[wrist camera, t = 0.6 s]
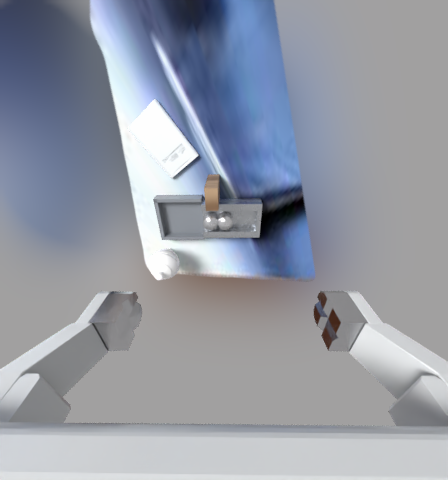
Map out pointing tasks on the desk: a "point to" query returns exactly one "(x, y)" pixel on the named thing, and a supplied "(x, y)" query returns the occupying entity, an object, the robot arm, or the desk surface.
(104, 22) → the desk surface
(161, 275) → the white vase
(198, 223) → the tray
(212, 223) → the shiny gray ball
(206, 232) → the slot block
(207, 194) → the tan long rectangular block
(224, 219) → the silver metal ball
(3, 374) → the robot arm
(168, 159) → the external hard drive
